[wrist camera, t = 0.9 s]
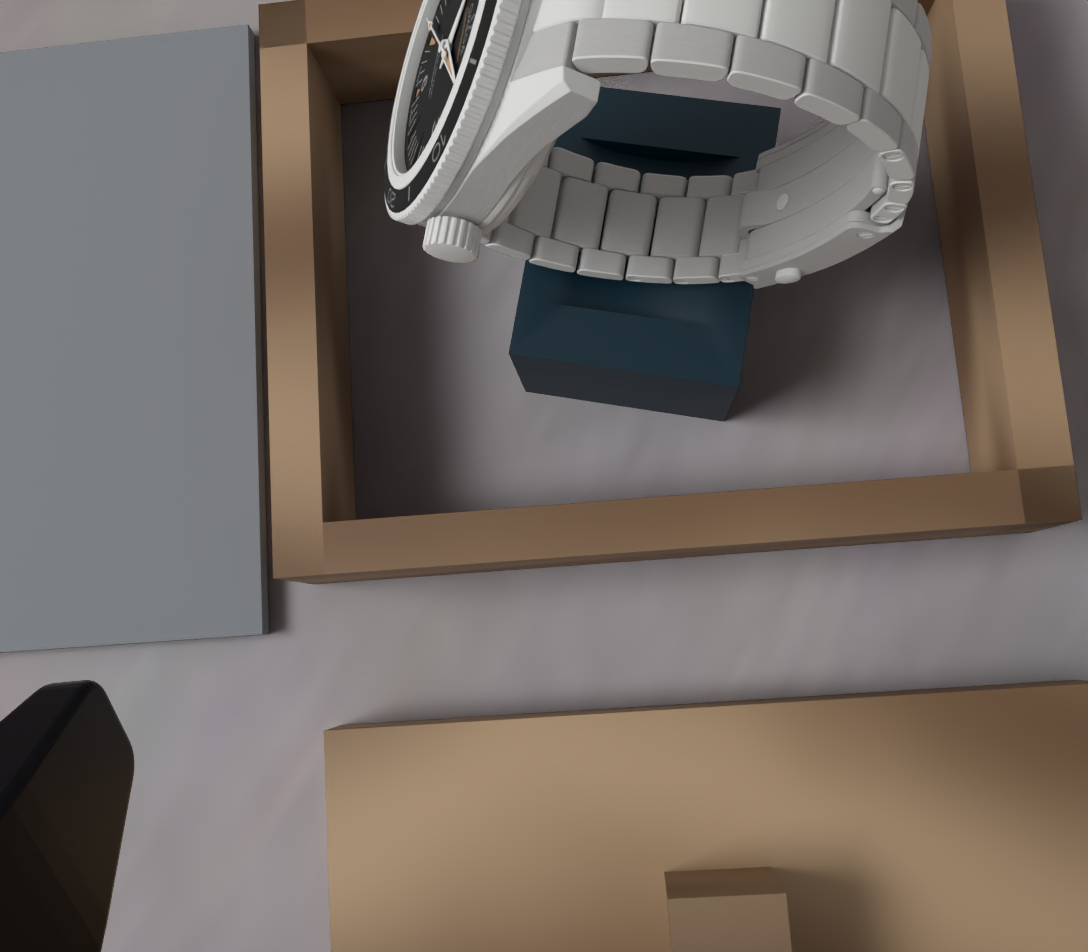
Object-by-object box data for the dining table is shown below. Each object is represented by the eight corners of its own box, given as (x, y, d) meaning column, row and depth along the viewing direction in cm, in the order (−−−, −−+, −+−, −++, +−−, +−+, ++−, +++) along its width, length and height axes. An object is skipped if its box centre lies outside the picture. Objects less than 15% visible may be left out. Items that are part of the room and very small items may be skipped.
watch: (483, 144, 23) (353, -277, 13) (842, 188, 22) (1036, -223, 12) (437, 382, 23) (257, 152, 12) (806, 438, 22) (979, 246, 11)
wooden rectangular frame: (1029, 532, 21) (1082, 519, 19) (313, 584, 22) (272, 578, 20) (954, -4, 23) (993, -80, 20) (296, 68, 24) (258, 4, 22)
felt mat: (269, 633, 22) (262, 634, 22) (-256, 670, 23) (-271, 670, 23) (254, 34, 24) (248, 24, 24) (-225, 88, 25) (-238, 79, 25)
